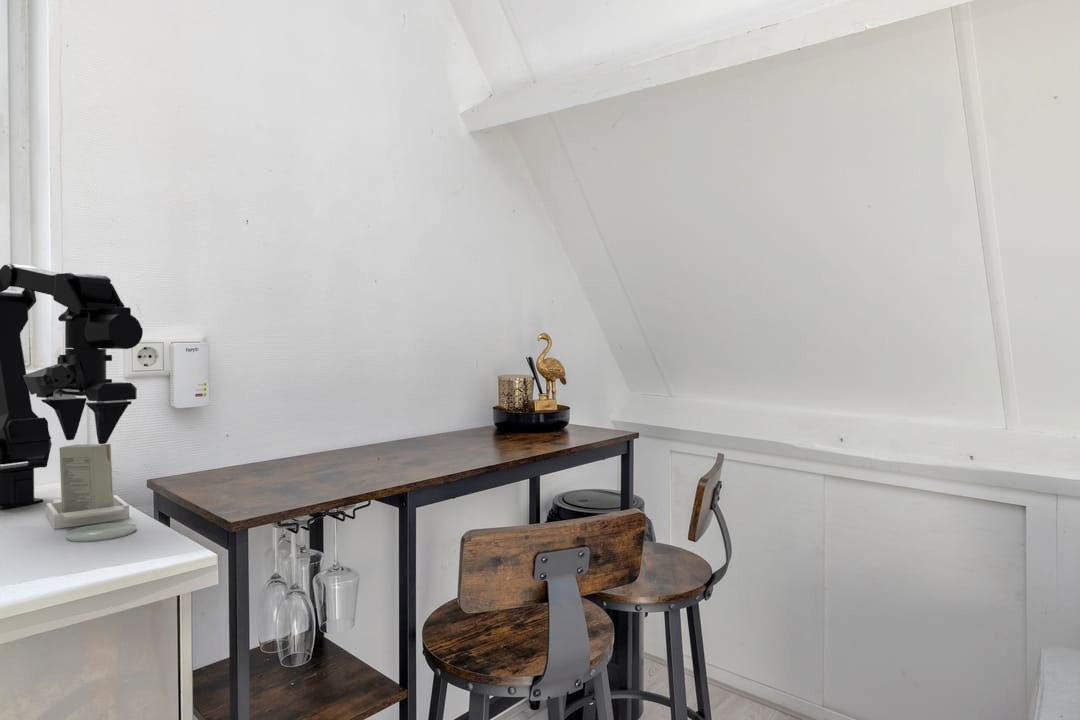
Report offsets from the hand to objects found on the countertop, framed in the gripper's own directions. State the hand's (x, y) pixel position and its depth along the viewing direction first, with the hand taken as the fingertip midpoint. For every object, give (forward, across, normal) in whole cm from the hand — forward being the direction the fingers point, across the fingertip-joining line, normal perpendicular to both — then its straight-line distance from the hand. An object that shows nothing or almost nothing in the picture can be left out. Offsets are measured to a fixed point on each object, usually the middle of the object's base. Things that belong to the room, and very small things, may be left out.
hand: (86, 441), depth 114 cm
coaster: (+12, +14, -5) cm, 19 cm away
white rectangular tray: (+13, 0, 0) cm, 13 cm away
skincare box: (+13, 0, 0) cm, 13 cm away
